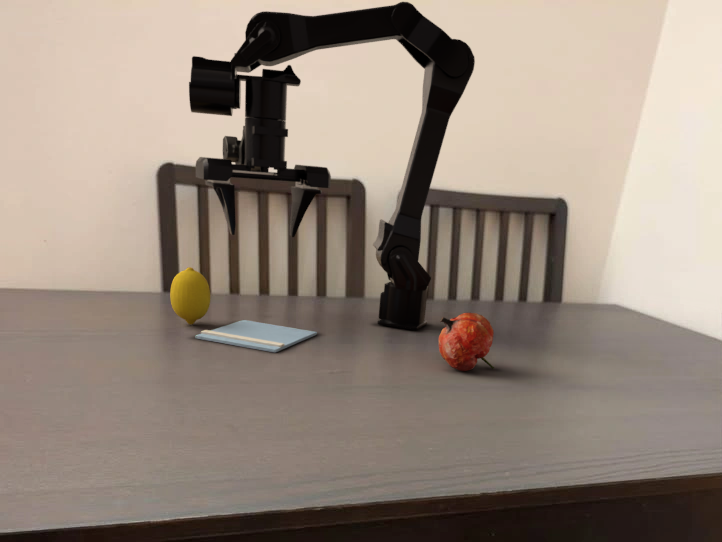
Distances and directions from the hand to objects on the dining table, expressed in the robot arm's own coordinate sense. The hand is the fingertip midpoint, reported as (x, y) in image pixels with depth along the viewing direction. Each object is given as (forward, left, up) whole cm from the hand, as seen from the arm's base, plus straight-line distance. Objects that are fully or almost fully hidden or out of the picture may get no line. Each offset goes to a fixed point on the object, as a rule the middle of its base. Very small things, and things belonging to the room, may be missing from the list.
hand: (262, 235), depth 108 cm
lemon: (+5, +12, -12) cm, 18 cm away
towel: (-6, +12, -12) cm, 18 cm away
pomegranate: (-35, +10, -12) cm, 38 cm away
